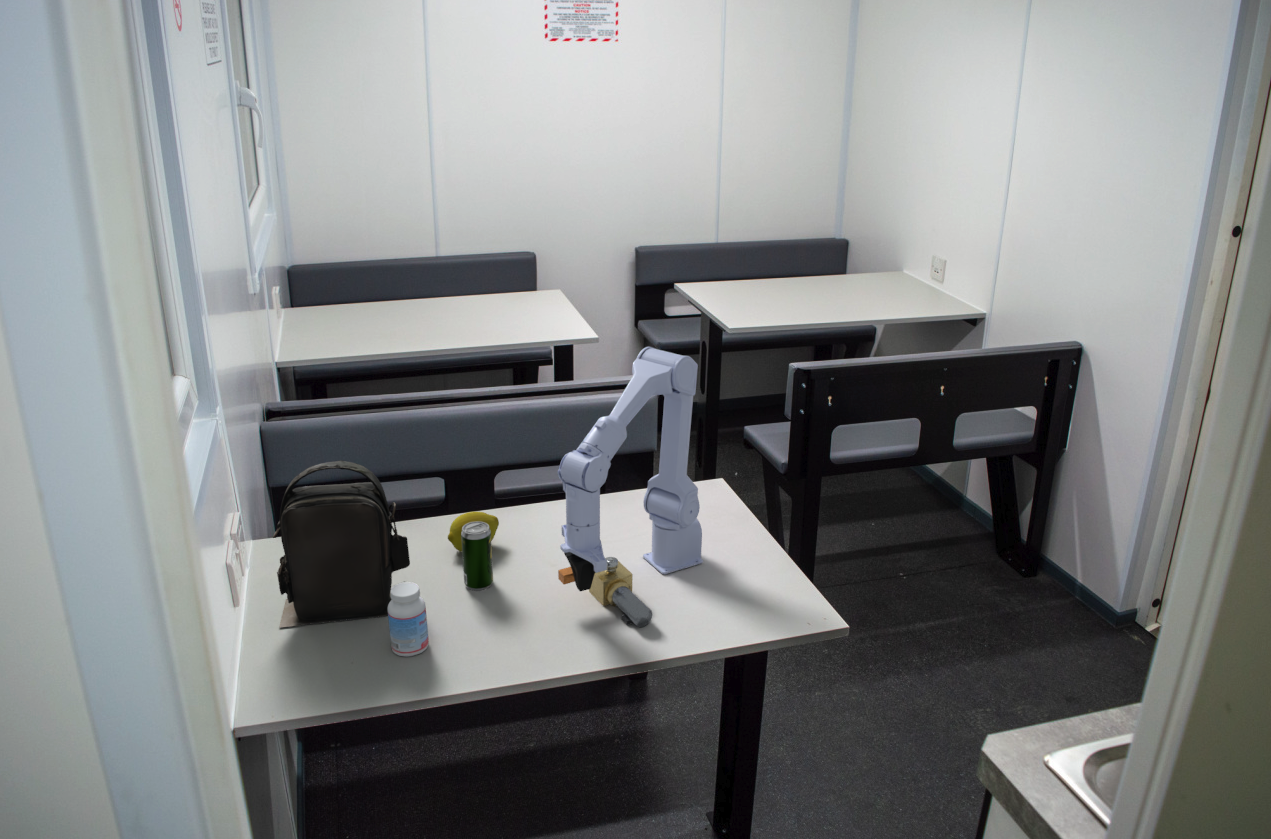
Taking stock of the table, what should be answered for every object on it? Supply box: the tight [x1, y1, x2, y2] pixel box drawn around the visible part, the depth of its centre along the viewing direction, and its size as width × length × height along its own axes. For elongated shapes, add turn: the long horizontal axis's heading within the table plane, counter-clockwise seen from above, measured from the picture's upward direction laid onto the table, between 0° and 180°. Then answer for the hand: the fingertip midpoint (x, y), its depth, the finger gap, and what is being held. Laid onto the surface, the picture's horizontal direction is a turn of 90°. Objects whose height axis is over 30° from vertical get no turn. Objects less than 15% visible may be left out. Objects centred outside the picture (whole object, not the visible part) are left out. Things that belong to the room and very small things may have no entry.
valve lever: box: [557, 556, 619, 585], centre depth 161 cm, size 11×3×2 cm, turn 120°
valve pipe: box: [588, 560, 654, 628], centre depth 164 cm, size 6×24×5 cm, turn 30°
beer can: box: [461, 521, 494, 592], centre depth 166 cm, size 5×5×12 cm
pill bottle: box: [387, 581, 430, 657], centre depth 147 cm, size 6×6×11 cm
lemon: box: [447, 511, 500, 553], centre depth 179 cm, size 11×8×8 cm
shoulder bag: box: [272, 460, 411, 629], centre depth 155 cm, size 23×9×28 cm, turn 103°
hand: (583, 588), depth 157 cm, fingers closed
